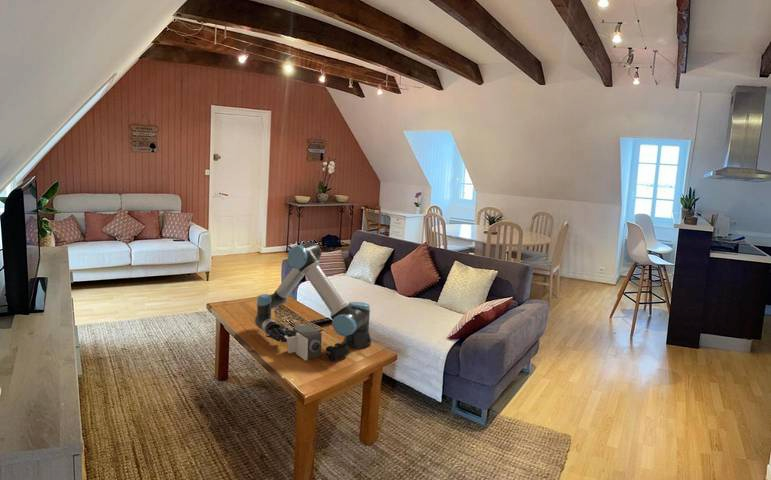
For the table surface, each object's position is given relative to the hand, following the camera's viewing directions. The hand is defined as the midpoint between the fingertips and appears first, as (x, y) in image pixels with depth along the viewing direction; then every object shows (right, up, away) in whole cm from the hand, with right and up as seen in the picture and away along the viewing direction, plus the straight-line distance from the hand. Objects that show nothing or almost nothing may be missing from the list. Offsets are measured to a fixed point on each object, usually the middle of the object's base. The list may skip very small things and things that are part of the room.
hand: (291, 342), depth 247 cm
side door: (+4, -7, -2) cm, 8 cm away
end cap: (+23, -9, +1) cm, 25 cm away
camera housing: (+8, -7, +5) cm, 11 cm away
